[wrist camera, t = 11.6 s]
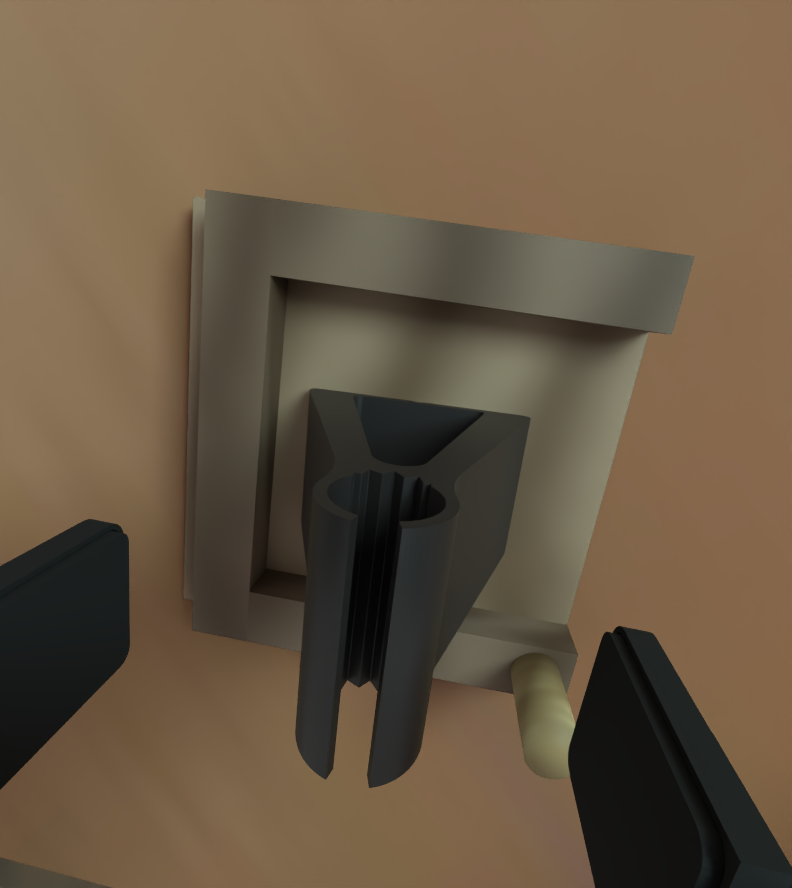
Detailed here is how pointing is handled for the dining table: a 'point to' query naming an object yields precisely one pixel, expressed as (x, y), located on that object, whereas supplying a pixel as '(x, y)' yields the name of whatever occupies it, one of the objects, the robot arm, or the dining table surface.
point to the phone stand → (394, 556)
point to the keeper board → (416, 379)
